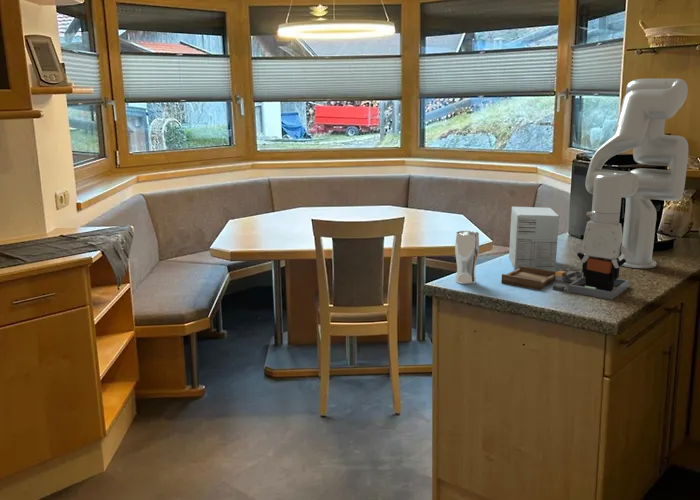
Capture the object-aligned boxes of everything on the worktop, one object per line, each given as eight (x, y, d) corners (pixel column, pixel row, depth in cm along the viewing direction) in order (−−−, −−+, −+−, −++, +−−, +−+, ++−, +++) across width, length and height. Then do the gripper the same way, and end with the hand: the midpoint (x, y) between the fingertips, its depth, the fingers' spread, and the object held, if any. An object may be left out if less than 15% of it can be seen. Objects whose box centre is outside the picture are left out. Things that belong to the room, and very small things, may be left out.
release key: (570, 274, 203) (570, 267, 203) (576, 275, 202) (577, 268, 202) (554, 279, 194) (555, 272, 193) (561, 280, 192) (562, 273, 192)
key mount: (567, 278, 206) (568, 267, 205) (582, 281, 203) (583, 270, 202) (549, 288, 195) (550, 277, 194) (565, 291, 192) (565, 280, 191)
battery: (606, 293, 191) (609, 259, 189) (584, 287, 196) (586, 254, 194) (613, 290, 194) (616, 256, 191) (591, 285, 199) (594, 252, 196)
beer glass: (472, 286, 197) (474, 236, 194) (450, 282, 201) (452, 233, 197) (480, 280, 203) (483, 232, 200) (459, 277, 207) (461, 229, 203)
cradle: (586, 279, 204) (587, 272, 204) (628, 287, 197) (629, 279, 197) (567, 291, 192) (568, 283, 192) (611, 299, 185) (612, 291, 184)
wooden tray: (519, 273, 211) (520, 265, 210) (556, 280, 204) (557, 272, 203) (501, 282, 201) (501, 274, 200) (539, 290, 194) (540, 281, 193)
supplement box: (556, 272, 213) (560, 216, 209) (513, 270, 215) (516, 215, 211) (547, 259, 230) (551, 206, 226) (507, 257, 232) (511, 205, 227)
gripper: (570, 216, 192) (565, 275, 196) (633, 223, 182) (627, 286, 186) (579, 212, 198) (574, 270, 202) (641, 219, 188) (634, 280, 192)
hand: (599, 277), depth 194 cm, fingers closed on battery, 7 cm apart
